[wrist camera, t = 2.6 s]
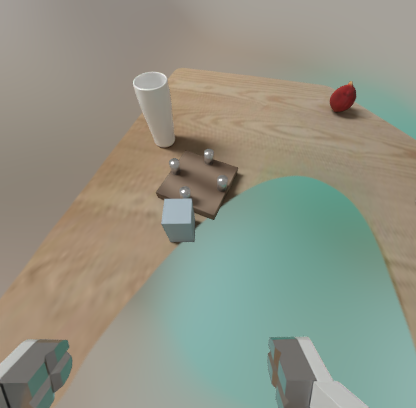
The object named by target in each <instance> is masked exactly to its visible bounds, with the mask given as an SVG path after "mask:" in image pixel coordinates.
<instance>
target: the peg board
mask: <svg viewBox="0 0 416 408" xmlns="http://www.w3.org/2000/svg"><path fill="white" fill-rule="evenodd" d="M213 155H214V152H213V150H212V149H206V150H205V151H204V156H201V155H198V154H195V153H192V152H189V151H185V152H184V153H183V155H182V156H181V158H180V159H179V160H178V159H176V158H173V159H171V160H170V161H169V164H170V168H171V172H170V173H169V174H168V176H167V177H166V179H165V180H164V181H163V183H162V184H161V186H160V187H159V188H158V190H157V191H156V194H157V196H158V198H160V199H163V200H164V199H192V203H193V209H194V212H195V213H197V214H200V215H202V216H205V217H207V218H210V219H213V220H214V219H215V217H216V215H217V213H218V211H219V209H220V207H221V205H222V203H223V201H224V199H225V197H226V195H227V193H228V191H229V189H230V186H231V184H232V182H233V180H234V178H235V176H236V174H237V170H238V167H235V166H232V165H229V164H226V163H222V162H219V161H216V160H213Z"/></svg>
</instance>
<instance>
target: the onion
mask: <svg viewBox="0 0 416 408" xmlns="http://www.w3.org/2000/svg"><path fill="white" fill-rule="evenodd" d="M355 99H356V90H355V88H354V87H353V83H352V81H350V83H349V84H348V85H344V86H342V87H340V88H338V89H337V90H336V91H335V92H334V93H333V94H332V96H331V98H330V105H331V108H332V109H333V111H334V112H340V111H344V110H347V109H348V108H350V107H351V106H352V105H353V103H354V101H355Z"/></svg>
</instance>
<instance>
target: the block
mask: <svg viewBox="0 0 416 408" xmlns="http://www.w3.org/2000/svg"><path fill="white" fill-rule="evenodd" d="M161 224H162V226H163V228H164V230H165V232H166V234H167V236H168V238H169V240H170V242H194V239H195V216H194V209H193V203H192V199H164V207H163V215H162V223H161Z"/></svg>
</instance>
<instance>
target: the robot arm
mask: <svg viewBox="0 0 416 408" xmlns="http://www.w3.org/2000/svg"><path fill="white" fill-rule="evenodd" d="M268 345H269V348H270V352H269V353H268V370H269V375H270V379H271V383H272V385H273V386H274V387H275V388H276V401H277V405H278V408H369V407H368V406H367V405H366V404H365V403H363V402H362V401H361V400H360V399H358V398H357V397H356V396H355V395H354V394H353V393H352V392H350V391H349V390H348V389H347V388H346V387H344V386H343V385H342V384H341V383H340V382H338V381H334V380H333V379H332V377H331V375H330V374H329V372H328V370H327V368H326V366H325V365H324V363H323V361H322V359H321V357H320V356H319V354H318V352H317V350H316V348H315V347H314V345H313V343H312V341H311V340H310V339H309V338H308V337H271V338H270V339H269V344H268ZM68 348H69V344H68V340H48V339H27V340H26V341H24V342H22V343H21V344H20V345H19V346H18V347H17V348H16V349H15V350H14V351H13V352H12V353H11V354H10V355H9V356H8V357H7V358H6V359H5V360H4V361H3V362H2V363H1V364H0V408H49V407H50V406H51V404H52V403H53V401H54V395H55V392H56V391H57V390H58V389H60V388H61V387H62V386H63V385H64V383H65V382H66V380H67V378H68V377H69V374H70V371H71V368H72V356H71V355H70V354H69V353H68V352H67V350H68Z"/></svg>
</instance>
